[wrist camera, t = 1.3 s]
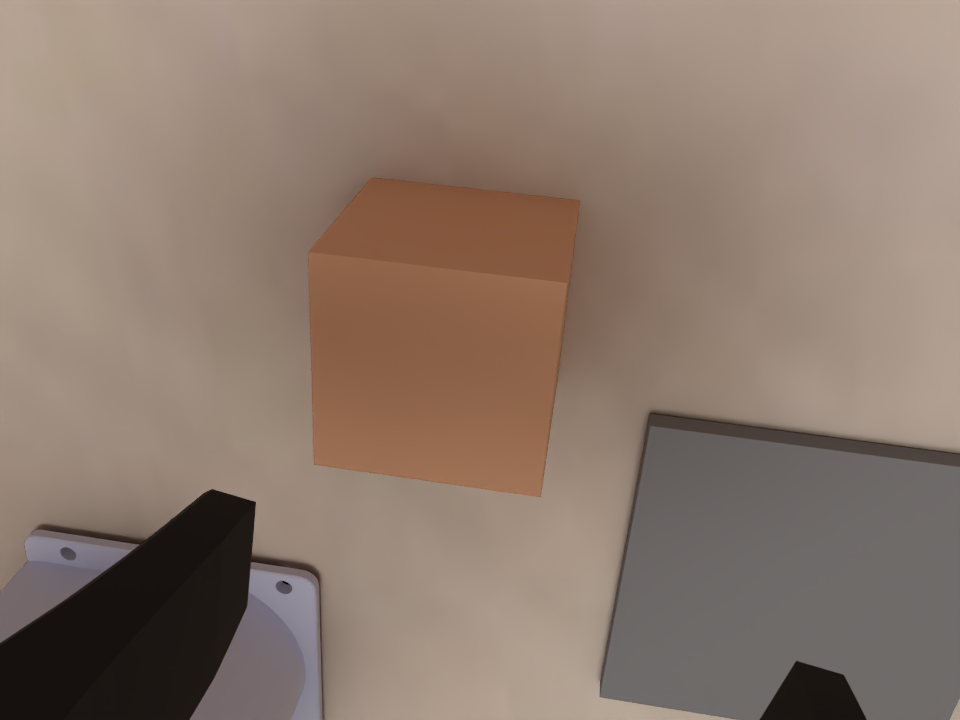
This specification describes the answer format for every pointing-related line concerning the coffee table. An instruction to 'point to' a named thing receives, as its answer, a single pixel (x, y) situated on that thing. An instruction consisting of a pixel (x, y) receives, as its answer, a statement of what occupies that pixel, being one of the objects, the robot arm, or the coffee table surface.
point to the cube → (440, 333)
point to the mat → (787, 572)
